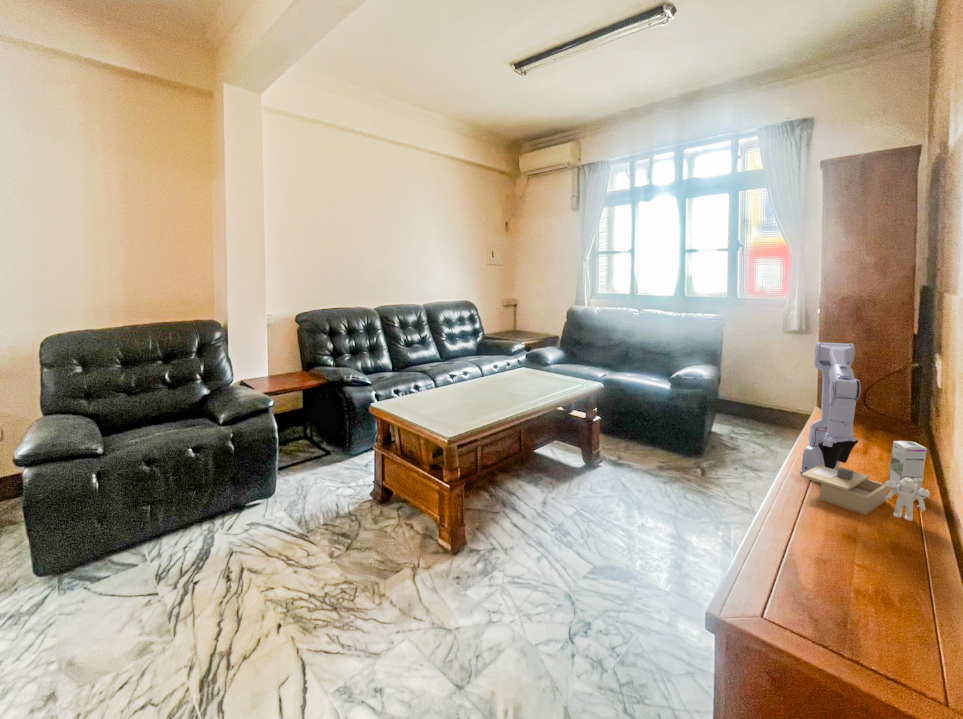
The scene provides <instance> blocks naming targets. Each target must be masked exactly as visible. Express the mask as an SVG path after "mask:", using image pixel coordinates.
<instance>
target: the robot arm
mask: <svg viewBox="0 0 963 719" xmlns="http://www.w3.org/2000/svg"><path fill="white" fill-rule="evenodd" d="M855 353H856V347H855V345H854V344H853V343H852V342H851V343H842V342H841V343H839V342H822V341H818V342H817V343H816V345H815V348H814V365H815V369H817V370H819V371H820V373H821V377H822V383H821V384H822V385H821V386H822V387H821V406H820V407H821V408H820V419H818V420H816V421H814V422H812V423H811V425H810V426H809V432H808V445H807V446H806V447H805V449H804V450H803V454H802V461H801V462H802V463H801V470H800V474H802V473H804V472H806V471H808V470H810V469H812V468H814V467H816V466H818V465H820V464H822V463H824V464H825V467H827V468H831V469H834V468H835V466H836V467H840V466H841V465H840V463H843V464H846V463H847V461H848V459H849V457H850V455H851V452H852V451H853V449H854V448H855V446H856V445H858V443H859V441H858V438H857V437H855V436H854V434H855V430H854V423H855V422H854V421H855V412H856V404H857V401H859V398H860V396H861V390H862V389H861V388H862V386H861V381H860V379H857V378H855V374H854V370H853V368H852V364H853V362H854V360H855V359H854V358H855V355H856V354H855Z"/></svg>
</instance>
